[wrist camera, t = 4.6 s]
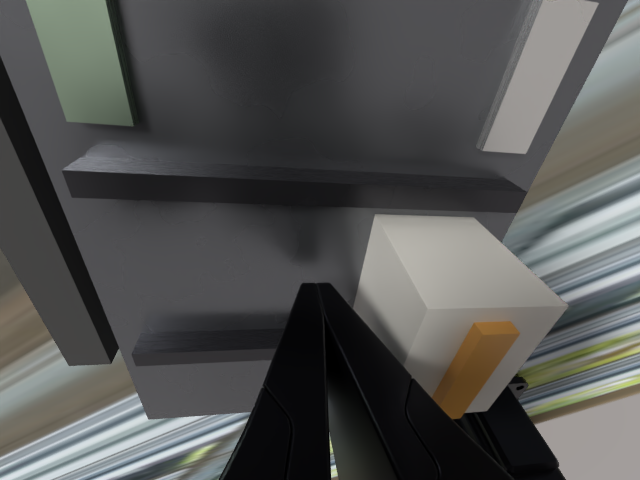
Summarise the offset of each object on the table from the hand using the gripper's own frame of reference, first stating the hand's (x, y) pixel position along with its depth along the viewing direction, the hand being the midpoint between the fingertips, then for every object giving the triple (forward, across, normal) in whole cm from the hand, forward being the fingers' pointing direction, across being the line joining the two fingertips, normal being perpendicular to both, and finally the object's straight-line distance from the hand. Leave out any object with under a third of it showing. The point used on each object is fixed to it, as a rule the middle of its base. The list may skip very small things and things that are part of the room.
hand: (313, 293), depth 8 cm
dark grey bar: (+3, +8, 0) cm, 8 cm away
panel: (+3, 0, 0) cm, 3 cm away
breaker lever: (+1, -3, 0) cm, 3 cm away
